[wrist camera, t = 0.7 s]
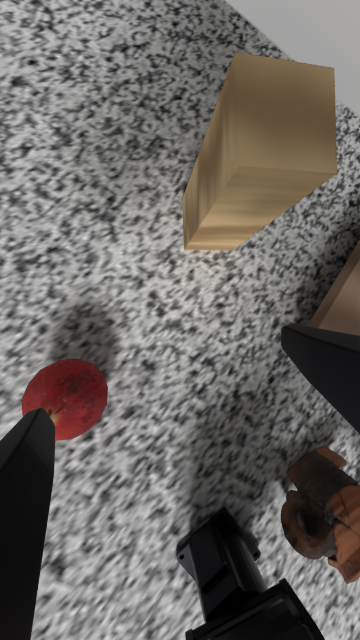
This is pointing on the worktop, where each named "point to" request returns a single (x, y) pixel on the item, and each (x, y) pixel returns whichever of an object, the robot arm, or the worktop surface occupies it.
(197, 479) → the worktop surface
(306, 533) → the brown jagged curved piece
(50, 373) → the onion
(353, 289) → the footed wooden board
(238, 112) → the wooden block
